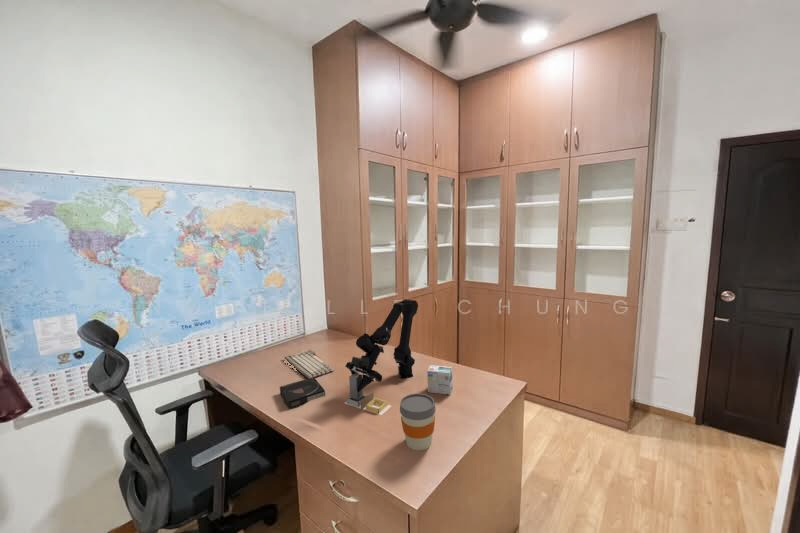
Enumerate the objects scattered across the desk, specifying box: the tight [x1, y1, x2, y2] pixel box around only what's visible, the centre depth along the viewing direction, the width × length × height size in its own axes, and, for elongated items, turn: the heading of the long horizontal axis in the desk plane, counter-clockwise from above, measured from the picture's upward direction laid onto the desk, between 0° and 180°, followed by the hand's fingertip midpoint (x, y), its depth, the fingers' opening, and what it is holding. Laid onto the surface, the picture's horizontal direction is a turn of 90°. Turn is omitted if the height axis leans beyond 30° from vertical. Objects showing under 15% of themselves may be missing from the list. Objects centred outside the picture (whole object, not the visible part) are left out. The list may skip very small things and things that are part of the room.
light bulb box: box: [426, 364, 454, 396], centre depth 149 cm, size 11×7×11 cm, turn 71°
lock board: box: [344, 391, 392, 416], centre depth 139 cm, size 20×8×5 cm, turn 59°
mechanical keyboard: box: [284, 348, 334, 379], centre depth 185 cm, size 38×19×3 cm, turn 40°
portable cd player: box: [279, 377, 326, 410], centre depth 151 cm, size 16×17×4 cm
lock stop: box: [348, 373, 365, 402], centre depth 140 cm, size 4×4×12 cm
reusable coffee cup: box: [399, 393, 436, 451], centre depth 114 cm, size 13×13×15 cm
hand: (354, 390), depth 139 cm, fingers closed on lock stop, 4 cm apart
